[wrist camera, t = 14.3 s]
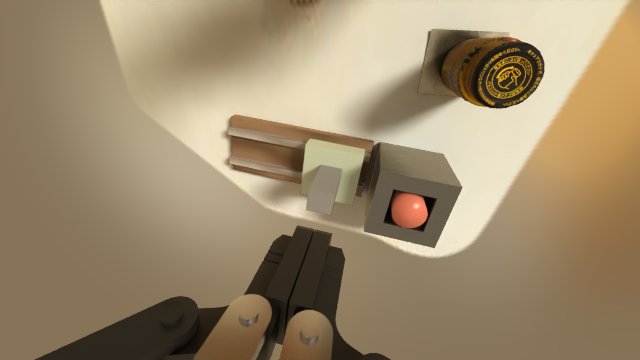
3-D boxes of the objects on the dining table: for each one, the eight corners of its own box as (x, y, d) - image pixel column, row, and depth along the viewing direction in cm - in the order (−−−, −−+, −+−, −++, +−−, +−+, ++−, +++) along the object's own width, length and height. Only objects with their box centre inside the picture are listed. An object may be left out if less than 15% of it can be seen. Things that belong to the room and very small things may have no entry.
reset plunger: (394, 174, 35) (396, 196, 30) (424, 180, 34) (432, 204, 29) (387, 198, 37) (388, 223, 32) (415, 204, 36) (421, 231, 31)
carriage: (309, 138, 37) (289, 165, 29) (365, 149, 36) (360, 179, 28) (304, 186, 41) (285, 221, 33) (354, 196, 40) (347, 236, 32)
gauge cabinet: (380, 142, 38) (380, 170, 29) (443, 154, 37) (462, 187, 28) (367, 193, 42) (364, 231, 34) (423, 205, 41) (434, 247, 32)
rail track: (235, 114, 41) (227, 118, 39) (373, 140, 38) (373, 146, 36) (237, 165, 45) (229, 171, 43) (361, 192, 42) (360, 200, 40)
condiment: (486, 98, 33) (535, 123, 22) (417, 92, 34) (433, 113, 24) (508, 32, 29) (579, 25, 19) (431, 29, 31) (457, 20, 20)
